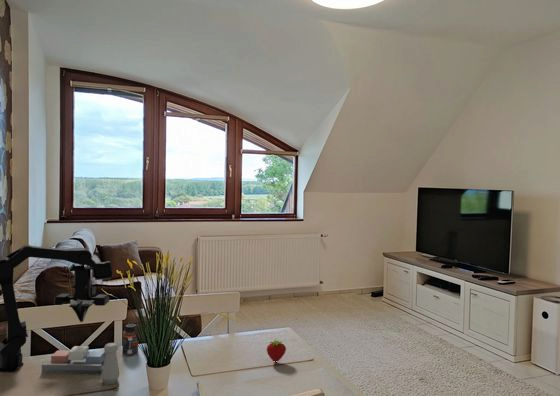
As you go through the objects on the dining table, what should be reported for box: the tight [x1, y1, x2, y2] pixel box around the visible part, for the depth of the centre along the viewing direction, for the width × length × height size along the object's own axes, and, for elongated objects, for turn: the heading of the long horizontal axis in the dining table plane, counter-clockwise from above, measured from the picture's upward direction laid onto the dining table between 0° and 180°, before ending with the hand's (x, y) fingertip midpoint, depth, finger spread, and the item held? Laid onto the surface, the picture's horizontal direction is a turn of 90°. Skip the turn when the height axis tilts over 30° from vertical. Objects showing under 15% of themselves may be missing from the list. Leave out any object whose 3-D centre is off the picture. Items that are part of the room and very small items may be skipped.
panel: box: [41, 350, 106, 376], centre depth 154 cm, size 20×12×3 cm, turn 93°
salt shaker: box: [100, 342, 121, 386], centre depth 144 cm, size 6×6×13 cm
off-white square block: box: [68, 345, 89, 360], centre depth 154 cm, size 5×5×3 cm
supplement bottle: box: [121, 323, 139, 357], centre depth 167 cm, size 6×6×11 cm
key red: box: [50, 349, 71, 364], centre depth 154 cm, size 5×5×3 cm
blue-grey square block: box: [86, 350, 105, 364], centre depth 154 cm, size 5×5×3 cm
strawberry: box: [266, 338, 287, 362], centre depth 164 cm, size 6×8×10 cm
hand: (81, 321), depth 163 cm, fingers closed
